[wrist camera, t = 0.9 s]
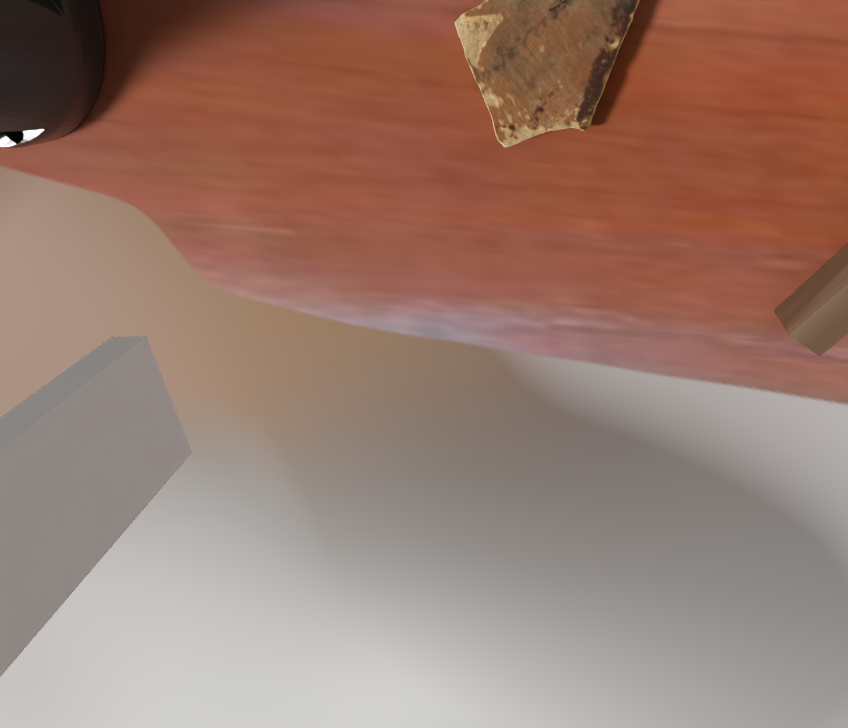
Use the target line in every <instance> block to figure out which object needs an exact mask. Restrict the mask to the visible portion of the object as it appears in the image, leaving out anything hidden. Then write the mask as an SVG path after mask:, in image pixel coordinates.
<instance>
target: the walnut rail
mask: <svg viewBox="0 0 848 728" xmlns="http://www.w3.org/2000/svg"><path fill="white" fill-rule="evenodd" d="M774 311H775V313H776V314H777V316H778V318H779V319H780V321H781V323H782V324H783V326H784V327H785V329H786V331H787V332H788V334H789V335H790V336H791V337H793V338H794V339H796V340H797V341H799V342H800V343H802V344H803V345H804V346H806V347H807V348H809V349H810V350H812V351H813V352H815V353H816V354H817V355H819V356H821V355H822V354H823V353H824V352H826V351H827V350H828V349H829V348H831V347H832V346H833V345H834V344H835V343H837V342H838V341H839V340H840V339H842V338H843V337H844V336H845V335H846V334H848V244H847V245H846V246H844V247H843V248H842V249H841V250H840V251H839V252H838V253H837V254H836V255H835V256H833V257H832V258H831V259H830V260H829V261H828V262H827V263H826V264H825V265H824V266H823V267H821V268H820V269H819V270H818V271H817V272H816V273H815V274H814V275H813V276H812V277H810V278H809V279H808V280H807V281H806V282H805V283H804V284H803V285H802V286H801V287H799V288H798V289H797V290H796V291H795V292H794V293H793V294H792V295H791V296H790V297H788V298H787V299H786V300H785V301H784V302H783V303H782V304H781V305H780V306H779V307H778V308H776V309H775V310H774Z"/></svg>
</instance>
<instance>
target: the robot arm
mask: <svg viewBox="0 0 848 728" xmlns="http://www.w3.org/2000/svg"><path fill="white" fill-rule="evenodd" d="M103 65H104V38H103V28H102V21H101V16H100V11H99V6H98V2H97V0H0V148H17V147H25V146H30V145H34V144H39V143H43V142H48V141H52V140H55V139H58V138H60V137H63V136H64V135H66V134H68V133H70V132H71V131H72V130H74V129H75V128H76V127H77V126H78V125H79V124H80V123H81V122H82V121H83V120H84V119H85V117H86V116H87V114H88V113H89V111H90V110H91V108H92V106H93V104H94V102H95V99H96V97H97V94H98V91H99V87H100V84H101V79H102V73H103ZM191 453H192V452H191V449H190V446H189V444H188V442H187V439H186V436H185V434H184V431H183V429H182V426H181V423H180V421H179V419H178V416H177V413H176V411H175V408H174V406H173V403H172V400H171V398H170V396H169V393H168V390H167V388H166V385H165V383H164V380H163V377H162V375H161V373H160V370H159V367H158V365H157V362H156V360H155V357H154V354H153V352H152V349H151V347H150V344H149V342H148V339H147V337H146V336H145V337H144V336H142V337H111V338H110V339H109V340H107V341H106V342H104V343H103V344H102V345H100V346H99V347H97V348H96V349H95V350H93V351H92V352H91V353H89V354H88V355H86V356H85V357H84V358H82V359H81V360H80V361H78V362H77V363H75V364H74V365H73V366H71V367H70V368H69V369H67V370H66V371H64V372H63V373H62V374H60V375H59V376H57V377H56V378H55V379H53V380H52V381H50V382H49V383H48V384H47V385H45V386H43V387H42V388H41V389H39V390H38V391H37V392H35V393H34V394H32V395H31V396H30V397H28V398H27V399H25V400H24V401H23V402H21V403H20V404H19V405H17V406H16V407H14V408H13V409H12V410H10V411H9V412H7V413H6V414H5V415H3V416H2V417H1V418H0V677H1V675H2V674H3V673H4V672H5V671H6V669H7V668H8V667H9V666H10V665H11V664H12V663H13V661H14V660H15V659H16V658H17V657H18V655H19V654H20V653H21V652H22V651H23V650H24V648H25V647H26V646H27V645H28V644H29V643H30V641H31V640H32V639H33V638H34V637H35V636H36V634H37V633H38V632H39V631H40V630H41V629H42V627H43V626H44V625H45V624H46V623H47V621H48V620H49V619H50V618H51V617H52V616H53V614H54V613H55V612H56V611H57V610H58V608H59V607H60V606H61V605H62V604H63V603H64V602H65V600H66V599H67V598H68V597H69V596H70V595H71V593H72V592H73V591H74V590H75V589H76V588H77V586H78V585H79V584H80V583H81V582H82V581H83V579H84V578H85V577H86V576H87V575H88V573H89V572H90V571H91V570H92V569H93V568H94V566H95V565H96V564H97V563H98V562H99V561H100V559H101V558H102V557H103V556H104V555H105V554H106V552H107V551H108V550H109V549H110V548H111V547H112V545H113V544H114V543H115V542H116V541H117V540H118V538H119V537H120V536H121V535H122V534H123V532H124V531H125V530H126V529H127V528H128V527H129V525H130V524H131V523H132V522H133V521H134V520H135V518H136V517H137V516H138V515H139V514H140V512H141V511H142V510H143V509H144V508H145V507H146V505H147V504H148V503H149V502H150V501H151V500H152V498H153V497H154V496H155V495H156V494H157V493H158V491H159V490H160V489H161V488H162V487H163V485H164V484H165V483H166V482H167V481H168V480H169V478H170V477H171V476H172V475H173V474H174V473H175V472H176V470H177V469H178V468H179V467H180V466H181V464H182V463H183V462H184V461H185V460H186V459H187V457H188V456H189V455H190V454H191Z"/></svg>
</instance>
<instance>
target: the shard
mask: <svg viewBox="0 0 848 728" xmlns="http://www.w3.org/2000/svg"><path fill="white" fill-rule="evenodd" d="M639 2H640V0H485V1H484V2H483V3H482V4H481V5H479V6H477V7H475V8H473V9H471V10H469V11H467V12H465V13H463V14H462V15H461V16H460V17H459V18H458V19H457V20H456V21H455V26H456V28H457V32H458V35H459V37H460V39H461V42H462V45H463V48H464V51H465V57H466V59H467V61H468V64H469V66H470V68H471V70H472V73H473V76H474V78H475V80H476V82H477V84H478V86H479V87H480V89H481V92H482V96H483V98H484V100H485V103H486V105H487V107H488V110H489V112H490V115H491V118H492V120H493V127H494V130H495V134H496V137H497V139H498V141H499V142H500V143H501V144H502V145H503V146H504V147H510V146H512V145H515V144H518V143H519V142H522V141H523V140H525V139H529V138H531V137H534V136H537V135H539V134H542V133H545V132H548V131H554V130H560V129H567V128H577V129H580V130H583V131H587V130H588V129H589V128H590V126H591V122H592V117H593V115H594V113H595V110H596V107H597V104H598V102H599V100H600V97H601V95H602V93H603V91H604V89H605V85H606V83H607V81H608V78H609V75H610V72H611V69H612V67H613V65H614V62H615V59H616V57H617V54H618V51H619V49H620V46H621V44H622V41H623V39H624V37H625V35H626V33H627V31H628V28H629V26H630V24H631V23H632V21H633V16H634V13H635V11H636V9H637V6H638V4H639Z"/></svg>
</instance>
